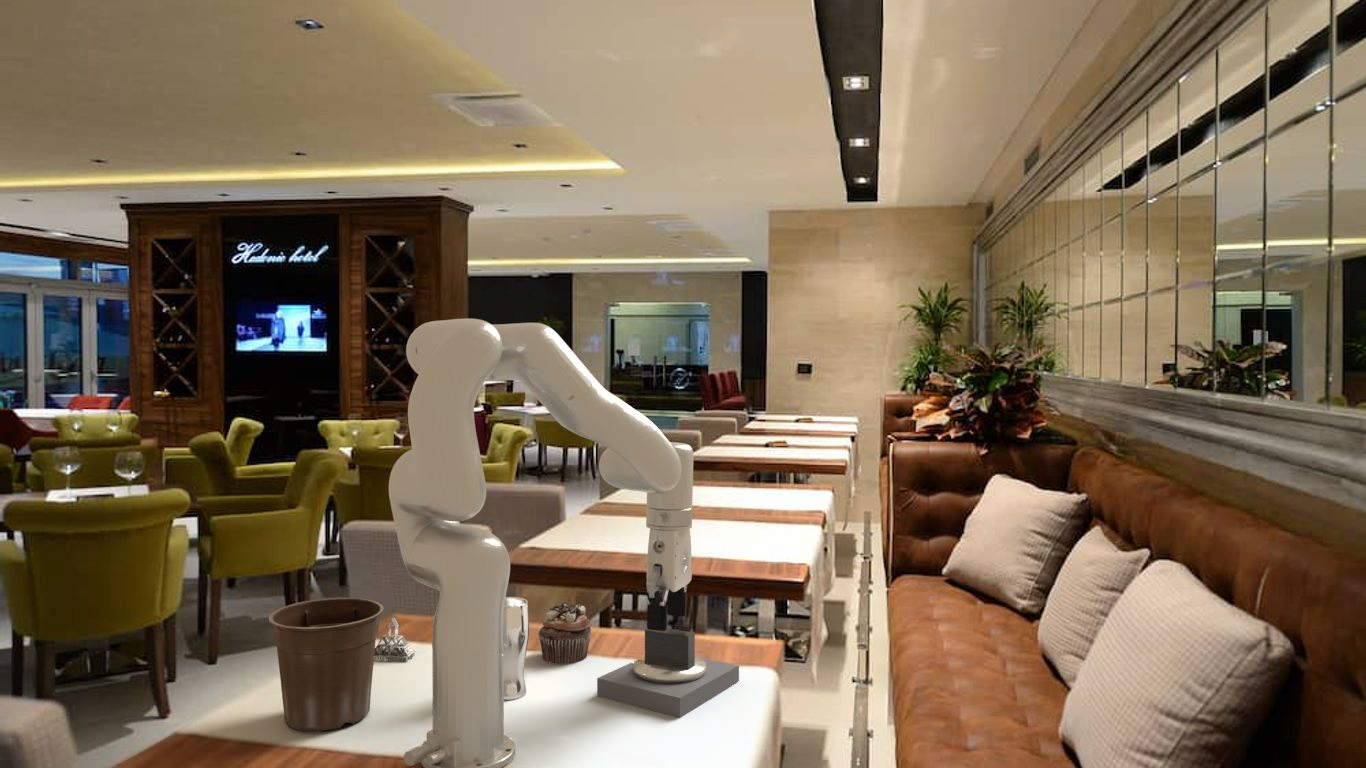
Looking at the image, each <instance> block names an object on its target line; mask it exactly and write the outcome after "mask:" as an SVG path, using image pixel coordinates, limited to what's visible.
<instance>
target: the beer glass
mask: <svg viewBox="0 0 1366 768" xmlns="http://www.w3.org/2000/svg"><path fill="white" fill-rule="evenodd" d="M528 603H529V602H528V600H527V599H526V598H523V597H517V596H506V598H505V606H504V630H503V642H504V701H513V700H517V699H521V698H522V697H524V696H525V695H526V694H527V687H526V681H525V680H526V679H525V663H526V662H525V661H526V655H527V650H528V644H529V636H530V618H529V607H528Z"/></svg>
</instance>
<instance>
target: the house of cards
mask: <svg viewBox="0 0 1366 768" xmlns="http://www.w3.org/2000/svg"><path fill="white" fill-rule="evenodd" d="M391 624H393V625H391ZM399 626H400V625H399V624H398V621H397V620H396V618H395V617H393V618H391V619H390V621H389V623H388V625H387V626H386V628H387V634H384V635H382V636H381V638H380V639H379V642H378V643H377V645H375V651H374V662H375V661H376V662H399V661H400V662H404V663H405V662H406V663H407V662H409V661H410V660H412V659H413V657H414V656H416V655H415V653H416V651H414V649H413V647H412V645H411V644H410V642H407V641H406V639H405V636H404V635H399ZM392 629H394V634H392ZM388 638H389V640H388ZM408 660H409V661H408Z"/></svg>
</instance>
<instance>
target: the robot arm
mask: <svg viewBox="0 0 1366 768" xmlns="http://www.w3.org/2000/svg"><path fill="white" fill-rule="evenodd" d="M405 348H406V349H405V353H406V358H407V361H408V364H409V365H410V367H411V368H412V370H413V371H414V372H415V373H416V374H417V375H418V376H417V377H416V379H415V381H414V384H413V386H412V390H411V392H410V395H409V399H408V406H407V421H408V429H409V434H410V435H409V436H410V442H411V449H410V450H408V451H406V452H404V453H403V454H402V455H401V456H400V457H399V458H398V459H397V460H396V461H395V463H394V464H393V467H392V469H391V472H390V474H389V475H390V476H389V480H388V497H389V502H390V508H391V512H392V518H393V521H394V527H395V532H396V536H397V541H398V546H399V550H400V555H401V559H402V561H403V563H404V566H405V568H406V570H407V572H408V573H409V575H410V576H411V577H412V578H413V579H414V581H417V582H418V583H420V584H422V585H424V586H427V587H430V588H432V589H434V590H437V591H439V599H438V603H437V606H436V610H435V613H434V616H433V622H432V631H431V636H432V637H431V648H432V651H431V652H432V668H431V669H432V729H431V730H428V731H427V732H426V740H425V741H423V742H422V743H421V744H422V745H420V746H416V747H414V748H411V749H409V750H407V751H405V752H404V754H403V759H404V762H405V764H406V766H408V767H412V766H415V765H416V764H418V763H421V765H422V767H423V768H503V767H505V766H506V765H508V764H509V763H510V762H511V761H512V760H513V759H514V758H515V755H516V744H515V742H514V740H513V739H511V738H510V737H509V736H507V735H505V730H504V727H505V726H504V725H505V717H504V716H505V710H504V709H505V707H504V705H505V703H504V701H505V700H504V642H503V630H504V606H505V598H506V597H507V591H508V585H509V579H510V573H511V559H510V555H509V551H508V550H507V549H508V548H507V547H506V546H505V544H504V543H503V542H502V540H500V538H498V537H497V536H496V535H495V534H493V533H492V532H490V531H487V530H485V529H483V528H479V527H475V526H472V525H467V524H463V523H460V522H463V521H467V520H469V519H472V518H474V517H475V516H476V515H478V513H480V511H481V510H482V509H483V507H484V505H485V501H486V499H487V483H486V476H485V473H484V467H483V462H482V457H481V453H480V446H479V442H478V436H477V432H476V431H477V430H476V423H475V422H476V421H475V405H476V400H477V397H478V395H479V392H480V391H481V389H482V386H484V384H485V383H486V381H519V382H520V383H522V384H523V385H524V386H525V388H527V390H528V391H529V392H530V393H531V394H532V395H533V396H534V397H535V399H537V401H538V402H539V403H541V405H542V406H543V407H544V408H545V409H546V410H547V411H548V413H549V414H550V415H551V416H552V417H553V418H554V420H555V421H557V423H558V424H560V426H561V427H563V428H565V429H566V430H568V431H569V432H571V433H574V434H575V435H576V436H577V435H578V436H579V437H582V438H585V439H588V440H590V441H593V442H595V443H598V444H600V445H602V446H604V447H605V448H606V449H605V450H603V452H602V454H601V456H600V458H599V462H598V463H599V464H598V468H599V473H600V476H601V477H602V479H603V480H604V481H605V482H606V483H607V484H608V485H610V486H612V487H614V488H617V489H621V490H625V491H626V490H627V491H635V492H636V491H637V492H641V493H646V511H645V512H646V518H645V519H646V520H645V524H646V525H645V526H646V529H649V534H648V535H649V536H648V545H647V558H646V585H645V586H646V590H647V591H646V597H647V599H646V607H647V609H646V612H647V614H646V616H647V617H646V629H649V630H657V631H665V630H667V629H668V616H674V617H685V616H686V615H687V589H688V584H690V582H691V581H692V577H693V572H692V571H693V568H692V567H693V566H692V565H693V564H692V563H693V562H692V561H693V559H692V540H691V539H692V536H691V529H692V528H693V498H694V497H693V492H694V491H693V489H694V488H693V487H694V450H693V448H692V446H691V445H689V443H688V444H687V443H682V442H671V441H670V440H669V439H668V438H667V437H666V436H665V435H664V433H663V432H662V431H661V429H660V428H658V427H657V426H656V425H655V424H654V423H653V422H652V421H651V420H650V419H649V418H648V417H647V416H645V415H644V414H642V413H641V412H639V410H636V409H635V408H633V407H632V406H631V405H629V404H628V403H627V402H625V401H623V400H622V399H621V398H619V397H618V396H616V395H615V394H614V393H612V392H610V391H608V390H607V389H606V388H604V387H603V385H602V384H601V383H600V382H599V381H598V380H597V379H596V377H595V376H594V375H593V374H592V373H591V372H590V370H589V368H587V367H586V365H584V363H583V362H582V361H581V360H580V359H579V357H578V356H577V355H576V354H575V353H574V352H573V350H572V349H571V347H570V346H569V345H568V344H567V343H566V342H565V340H564V339H563V338H562V337H561V336H560V334H558V333H557V332H556V331H555V330H554V329H553V328H551V327H550V326H549V325H547V324H544V323H541V322H521V323H518V322H517V323H506V324H505V323H503V324H501V323H499V324H491V323H489V322H488V321H486V320H483V319H478V318H467V317H466V318H453V319H445V320H444V319H443V320H433V321H429V322H425V323H422V324H421V325H419V326H417V328H415V329H414V330H413V332H412V333H411V334H410V336H409V338H408V339H407V344H406V347H405ZM666 603H667V604H666Z"/></svg>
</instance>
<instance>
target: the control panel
mask: <svg viewBox="0 0 1366 768" xmlns="http://www.w3.org/2000/svg"><path fill="white" fill-rule="evenodd" d="M697 657H698V658H700V659H702V660H704V661H705V663H706V673H705V674H704V675H703V676H702V677H700V678H698V679H695V680H692V681H687V682H681V683H658V682H651V681H647V680H643V679H641V678H639V677H637V676H636V675H635V674H634V673H633V663H634V662H635V661H636V660H634V661H632V662H630V663H628V664H626V665H623V666H621V667H618V668H617V669H615V670H612V671H610V672H608V673H605V674H603V675H601V676H599V677H597V678H596V683H597V684H596V686H597V688H596V690H597V691H596V694H597V695H596V696H597V697H598V698H601V699H606V700H609V701H614V702H618V703H620V704H625V705H629V706H633V707H637V708H642V709H645V710H649V711H653V712H656V713H661V714H664V715H669V716H672V717H676V718H683V716H685V715H688V714H689V713H690V712H692V711H694V710H695V709H697V708H699V707H700V706H702V705H703V704H705V703H707V702H708V701H710V700H712V699H714V698H715V697H717V696H719V695H720V694H722V693H723V692H724V691H727V690H729V687H730V688H732V687H733V686H734V684H735V685H736V684H738V683H739V682H740V665H738V664H733V663H728V662H726V661H725V662H724V661H718V660H715V659H709V658H705V657H704V658H703V657H700V656H697ZM738 681H739V682H738ZM737 682H738V683H737ZM732 685H733V686H732Z"/></svg>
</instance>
